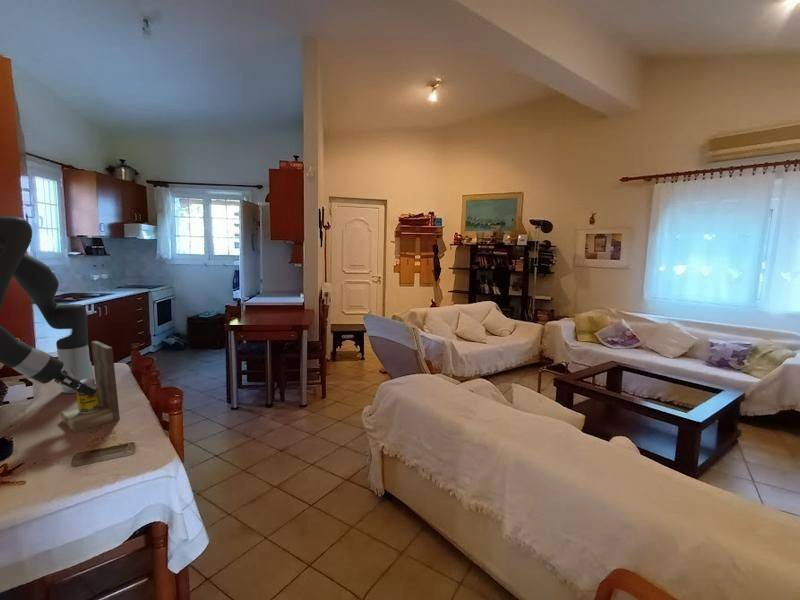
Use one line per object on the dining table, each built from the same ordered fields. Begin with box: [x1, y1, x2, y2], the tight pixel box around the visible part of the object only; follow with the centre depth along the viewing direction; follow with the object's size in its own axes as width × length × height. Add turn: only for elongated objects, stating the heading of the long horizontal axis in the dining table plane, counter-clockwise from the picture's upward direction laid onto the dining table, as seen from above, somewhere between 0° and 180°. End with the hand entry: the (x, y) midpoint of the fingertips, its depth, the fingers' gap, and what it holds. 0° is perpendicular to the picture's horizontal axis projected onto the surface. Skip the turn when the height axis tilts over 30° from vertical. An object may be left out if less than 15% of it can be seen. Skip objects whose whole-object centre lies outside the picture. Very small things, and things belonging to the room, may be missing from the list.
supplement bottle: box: [75, 378, 100, 414], centre depth 128 cm, size 6×6×10 cm
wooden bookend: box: [60, 340, 121, 433], centre depth 127 cm, size 14×12×24 cm
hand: (89, 390), depth 128 cm, fingers open, 8 cm apart
